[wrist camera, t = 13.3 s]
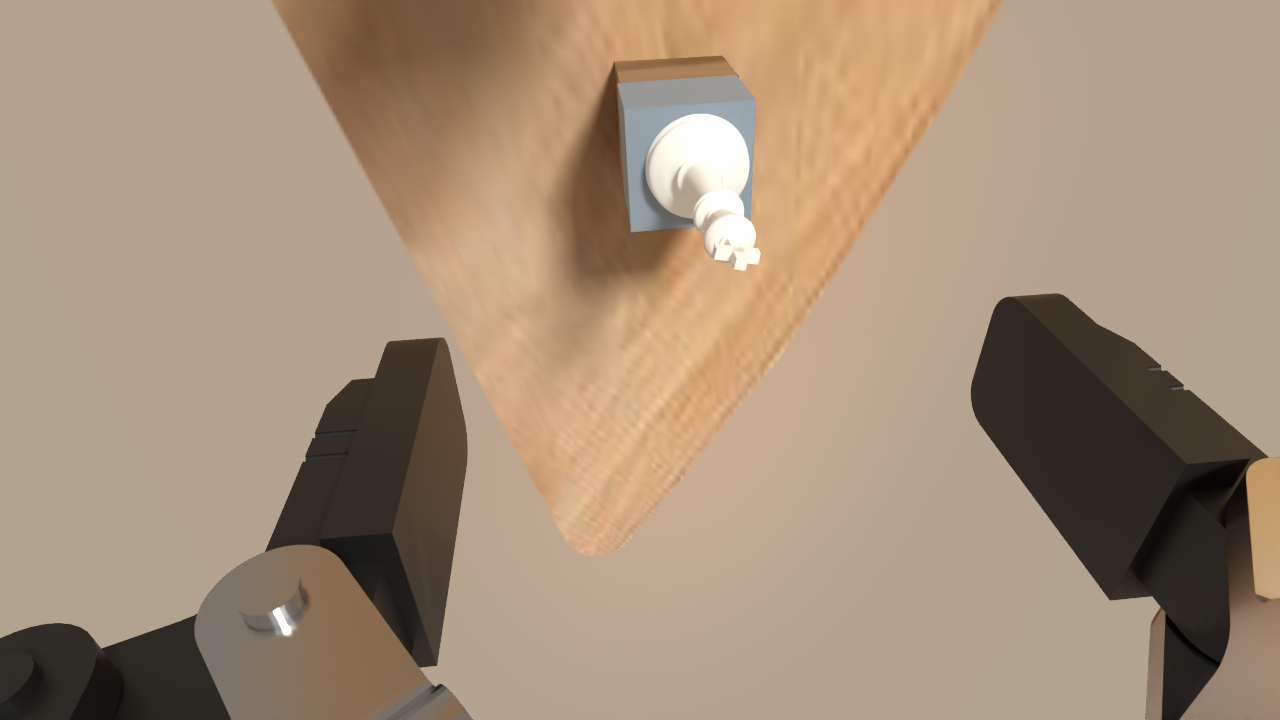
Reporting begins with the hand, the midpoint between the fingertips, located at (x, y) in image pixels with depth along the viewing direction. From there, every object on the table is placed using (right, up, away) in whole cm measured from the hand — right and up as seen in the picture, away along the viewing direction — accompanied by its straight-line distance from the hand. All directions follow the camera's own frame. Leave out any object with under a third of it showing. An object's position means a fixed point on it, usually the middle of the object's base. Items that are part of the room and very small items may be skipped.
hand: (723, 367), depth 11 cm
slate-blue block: (+1, +12, +27) cm, 30 cm away
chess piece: (+1, +9, +24) cm, 25 cm away
